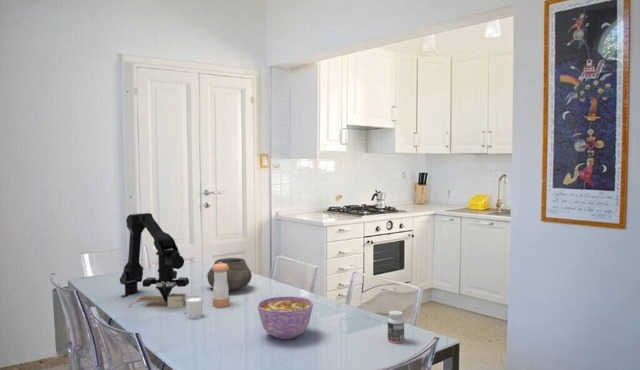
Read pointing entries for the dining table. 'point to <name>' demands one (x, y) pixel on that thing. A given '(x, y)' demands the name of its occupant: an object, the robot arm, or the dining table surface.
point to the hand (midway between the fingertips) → (166, 301)
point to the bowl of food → (285, 315)
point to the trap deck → (156, 301)
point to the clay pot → (233, 273)
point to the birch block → (177, 299)
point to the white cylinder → (194, 307)
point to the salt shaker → (220, 286)
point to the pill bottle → (395, 327)
